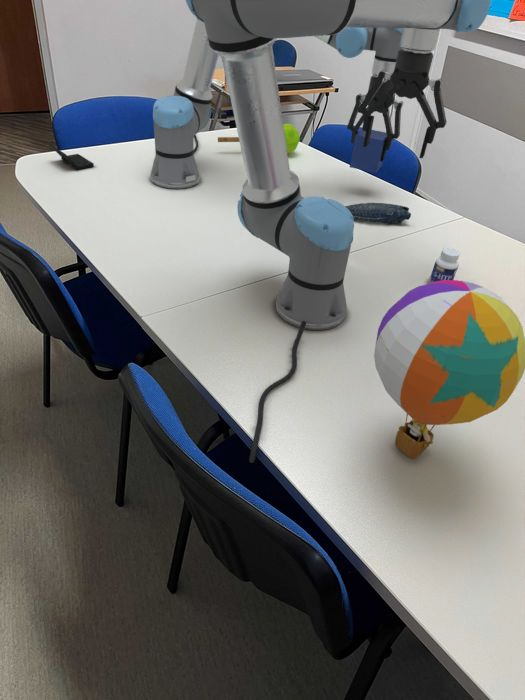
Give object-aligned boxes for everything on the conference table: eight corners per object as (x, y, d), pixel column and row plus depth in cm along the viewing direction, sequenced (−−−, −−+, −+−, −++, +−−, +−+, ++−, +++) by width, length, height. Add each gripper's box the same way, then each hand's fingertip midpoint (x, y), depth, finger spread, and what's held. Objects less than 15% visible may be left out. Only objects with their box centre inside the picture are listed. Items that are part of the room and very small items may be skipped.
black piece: (98, 159, 169) (76, 137, 160) (86, 177, 167) (64, 156, 159) (77, 155, 175) (55, 133, 167) (66, 172, 174) (43, 151, 165)
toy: (324, 440, 84) (359, 279, 65) (398, 390, 94) (447, 240, 76) (424, 525, 73) (502, 362, 54) (495, 458, 83) (581, 302, 65)
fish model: (409, 228, 149) (414, 212, 146) (336, 220, 150) (339, 204, 147) (407, 219, 154) (411, 203, 151) (336, 211, 155) (339, 195, 152)
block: (382, 164, 165) (389, 133, 159) (375, 173, 159) (382, 140, 153) (356, 159, 167) (362, 127, 161) (349, 167, 161) (355, 134, 155)
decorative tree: (215, 117, 188) (295, 117, 193) (215, 147, 195) (292, 146, 200) (221, 131, 174) (307, 131, 180) (221, 163, 181) (304, 161, 186)
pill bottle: (427, 286, 124) (438, 253, 119) (429, 276, 128) (440, 244, 122) (450, 292, 123) (461, 259, 117) (451, 281, 127) (463, 249, 121)
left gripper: (423, 80, 147) (403, 160, 161) (351, 68, 153) (338, 147, 167) (419, 85, 142) (399, 167, 156) (344, 72, 147) (331, 153, 161)
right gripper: (477, 56, 110) (448, 157, 124) (364, 39, 117) (347, 137, 130) (474, 61, 105) (443, 166, 118) (355, 43, 112) (339, 144, 125)
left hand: (367, 157), depth 161 cm, fingers closed on block, 8 cm apart
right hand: (393, 151), depth 124 cm, fingers open, 13 cm apart
